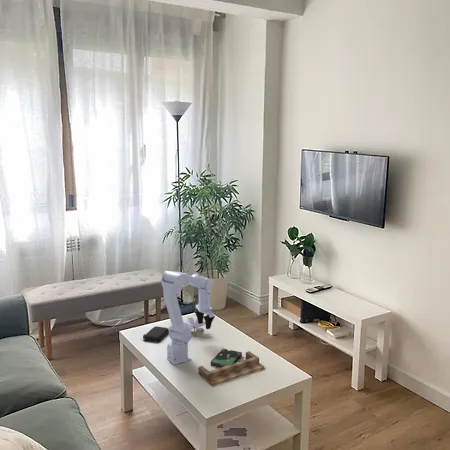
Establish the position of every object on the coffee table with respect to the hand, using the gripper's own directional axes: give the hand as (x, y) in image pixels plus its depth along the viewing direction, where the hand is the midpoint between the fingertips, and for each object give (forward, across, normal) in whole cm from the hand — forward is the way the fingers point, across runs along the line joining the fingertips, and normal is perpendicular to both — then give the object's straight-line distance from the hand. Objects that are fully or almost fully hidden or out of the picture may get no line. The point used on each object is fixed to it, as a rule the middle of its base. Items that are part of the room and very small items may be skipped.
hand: (204, 326), depth 237 cm
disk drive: (+10, -22, +1) cm, 24 cm away
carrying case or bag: (+10, +21, +17) cm, 29 cm away
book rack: (+9, -32, +4) cm, 34 cm away
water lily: (+10, +14, -3) cm, 17 cm away
